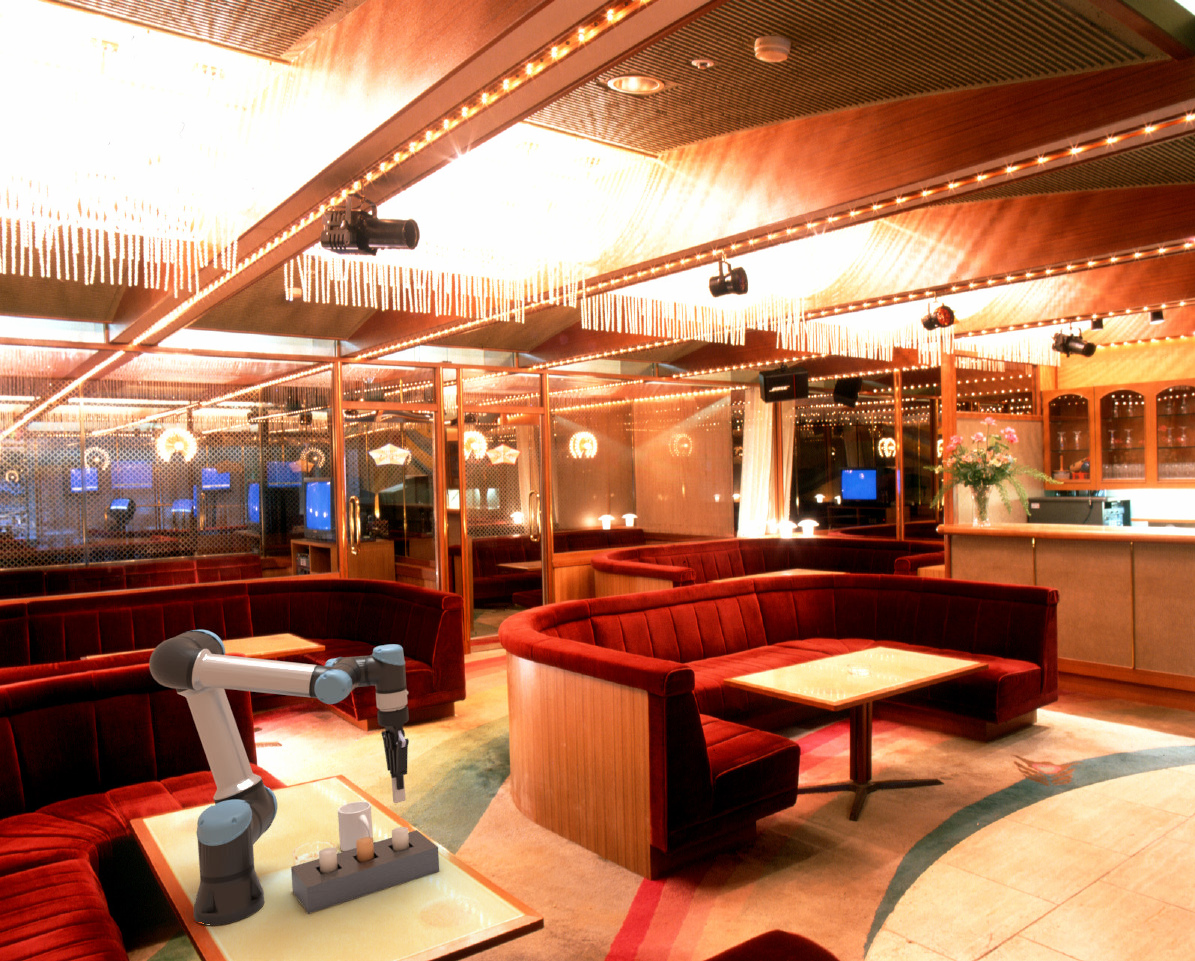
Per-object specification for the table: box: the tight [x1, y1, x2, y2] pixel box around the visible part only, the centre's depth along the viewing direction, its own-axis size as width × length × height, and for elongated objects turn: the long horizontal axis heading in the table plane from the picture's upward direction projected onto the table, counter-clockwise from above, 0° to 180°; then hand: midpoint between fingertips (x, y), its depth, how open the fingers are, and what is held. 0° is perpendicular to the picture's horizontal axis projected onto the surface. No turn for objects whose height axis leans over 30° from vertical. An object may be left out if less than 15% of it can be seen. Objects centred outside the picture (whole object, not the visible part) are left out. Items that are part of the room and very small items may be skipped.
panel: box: [290, 830, 440, 915], centre depth 208 cm, size 32×14×6 cm, turn 124°
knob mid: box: [356, 837, 374, 863], centre depth 208 cm, size 4×4×5 cm
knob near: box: [318, 847, 338, 875], centre depth 203 cm, size 4×4×5 cm
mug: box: [337, 800, 374, 852], centre depth 228 cm, size 9×12×11 cm
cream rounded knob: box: [391, 826, 409, 852], centre depth 213 cm, size 4×4×5 cm
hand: (399, 800), depth 213 cm, fingers closed
